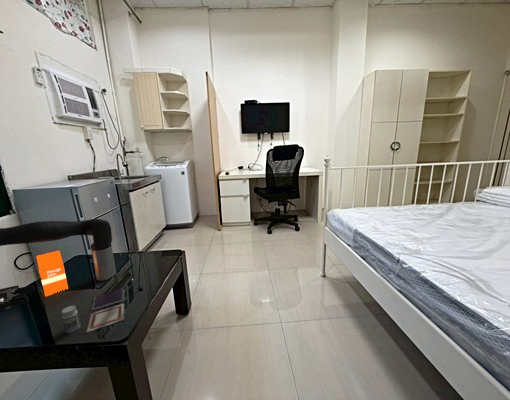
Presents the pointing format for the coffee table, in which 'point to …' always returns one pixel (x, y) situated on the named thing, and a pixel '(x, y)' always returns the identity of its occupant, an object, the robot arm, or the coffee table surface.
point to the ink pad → (108, 299)
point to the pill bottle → (70, 319)
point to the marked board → (105, 317)
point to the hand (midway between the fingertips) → (31, 293)
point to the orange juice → (52, 272)
